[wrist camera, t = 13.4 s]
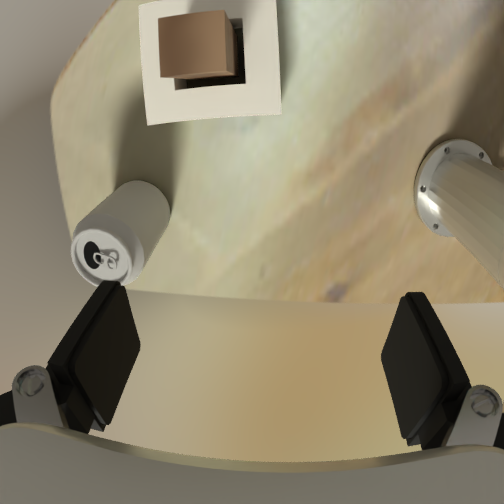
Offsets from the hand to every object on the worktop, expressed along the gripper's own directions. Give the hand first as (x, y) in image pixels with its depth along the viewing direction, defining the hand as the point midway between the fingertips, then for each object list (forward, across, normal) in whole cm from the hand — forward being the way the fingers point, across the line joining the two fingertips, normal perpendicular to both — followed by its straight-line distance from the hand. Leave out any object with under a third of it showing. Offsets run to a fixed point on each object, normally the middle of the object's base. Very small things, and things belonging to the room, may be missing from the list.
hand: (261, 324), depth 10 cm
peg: (+25, +6, -10) cm, 28 cm away
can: (+25, +15, +6) cm, 30 cm away
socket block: (+25, +6, -10) cm, 28 cm away
